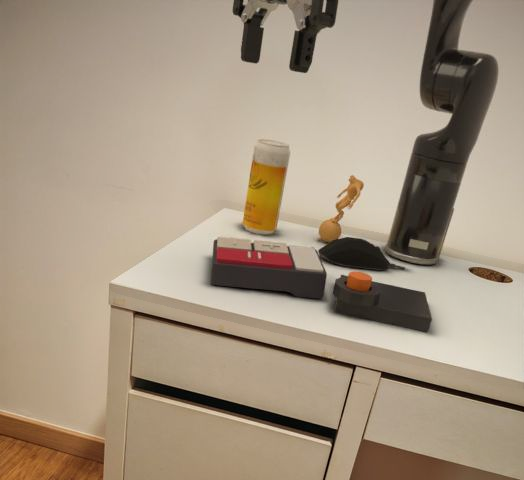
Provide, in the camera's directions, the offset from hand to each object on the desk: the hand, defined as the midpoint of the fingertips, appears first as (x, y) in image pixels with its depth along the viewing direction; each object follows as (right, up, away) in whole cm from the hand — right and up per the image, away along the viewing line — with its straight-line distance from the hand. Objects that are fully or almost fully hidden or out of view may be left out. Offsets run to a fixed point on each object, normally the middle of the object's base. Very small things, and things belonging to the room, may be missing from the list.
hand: (272, 67), depth 64 cm
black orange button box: (+15, -26, +14) cm, 33 cm away
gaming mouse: (+15, -17, +32) cm, 39 cm away
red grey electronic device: (-1, -21, +17) cm, 28 cm away
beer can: (-2, -10, +39) cm, 41 cm away
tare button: (+11, -23, +10) cm, 28 cm away
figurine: (+12, -12, +40) cm, 44 cm away
